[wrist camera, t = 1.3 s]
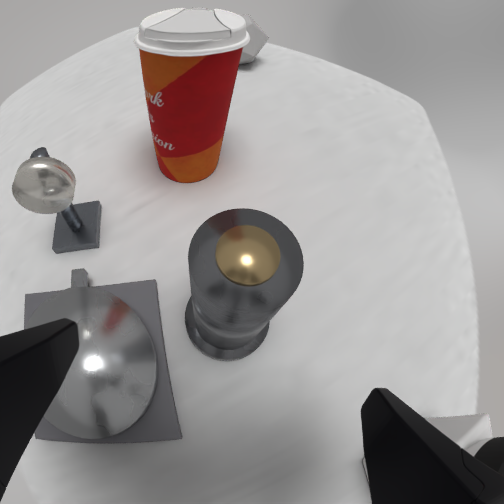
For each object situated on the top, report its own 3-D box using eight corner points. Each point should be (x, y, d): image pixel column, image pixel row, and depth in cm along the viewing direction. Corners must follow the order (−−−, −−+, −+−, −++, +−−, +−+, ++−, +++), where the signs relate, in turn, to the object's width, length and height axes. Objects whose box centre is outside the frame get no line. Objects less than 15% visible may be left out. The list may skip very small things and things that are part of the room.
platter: (171, 433, 15) (169, 435, 14) (37, 433, 12) (29, 434, 11) (146, 266, 20) (143, 259, 19) (29, 281, 17) (21, 275, 16)
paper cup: (156, 133, 27) (151, 6, 15) (230, 137, 28) (252, 9, 16) (139, 191, 23) (114, 39, 11) (227, 196, 25) (254, 41, 12)
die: (242, 51, 41) (212, 10, 33) (285, 45, 36) (255, -3, 28) (218, 81, 39) (182, 38, 32) (262, 76, 35) (226, 23, 27)
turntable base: (182, 437, 16) (181, 438, 15) (39, 437, 13) (35, 438, 12) (156, 282, 20) (155, 279, 20) (28, 296, 18) (25, 294, 17)
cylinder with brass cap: (274, 352, 19) (338, 311, 10) (193, 367, 18) (182, 340, 9) (256, 278, 22) (297, 188, 13) (180, 288, 20) (166, 199, 11)
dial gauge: (101, 246, 21) (59, 166, 13) (54, 253, 20) (0, 181, 12) (103, 205, 22) (73, 121, 14) (59, 213, 21) (18, 136, 13)
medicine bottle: (377, 521, 13) (483, 562, 3) (359, 458, 16) (486, 482, 6) (440, 477, 15) (547, 482, 5) (427, 416, 18) (546, 399, 8)
